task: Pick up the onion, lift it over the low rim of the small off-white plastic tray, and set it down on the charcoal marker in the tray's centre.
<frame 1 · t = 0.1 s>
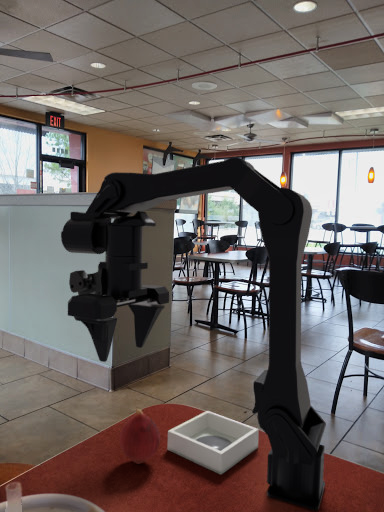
hand: (122, 353, 67), 14 cm above the table, fingers open, 9 cm apart
tray: (213, 448, 66), on the table
onion: (139, 464, 62), on the table
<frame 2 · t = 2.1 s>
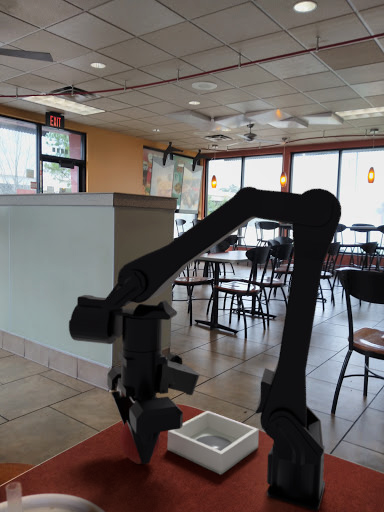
hand: (139, 452, 61), 2 cm above the table, fingers closed on onion, 6 cm apart
onion: (139, 464, 62), on the table, touching gripper
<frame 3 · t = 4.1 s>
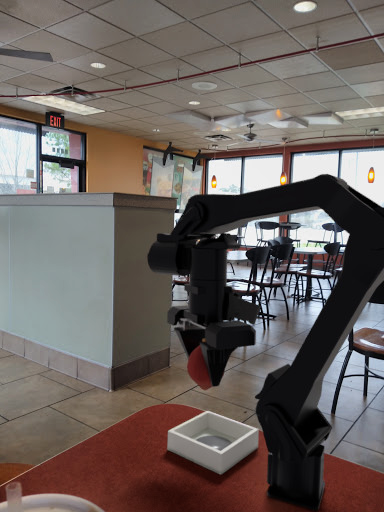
hand: (206, 379, 65), 11 cm above the table, fingers closed on onion, 6 cm apart
onion: (205, 391, 65), point 10 cm above the table, touching gripper
when the fingers open (4 cm above the table, at t = 6.1 s): onion drops 2 cm, resting on tray.
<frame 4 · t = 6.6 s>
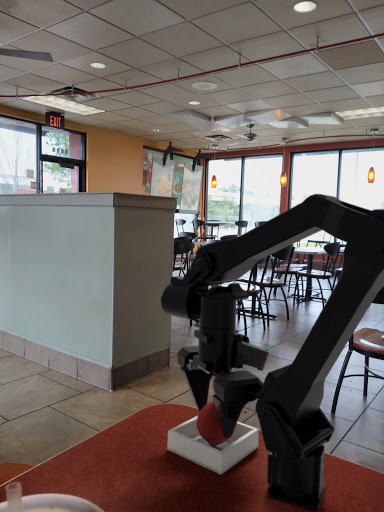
hand: (214, 423, 66), 4 cm above the table, fingers open, 9 cm apart
onion: (213, 446, 66), resting on tray
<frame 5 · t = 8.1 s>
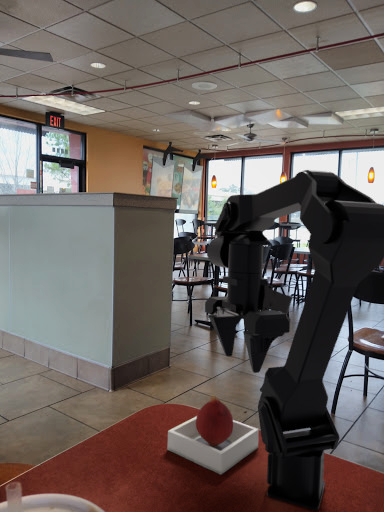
hand: (241, 363, 71), 12 cm above the table, fingers open, 9 cm apart
nothing on the table moved.
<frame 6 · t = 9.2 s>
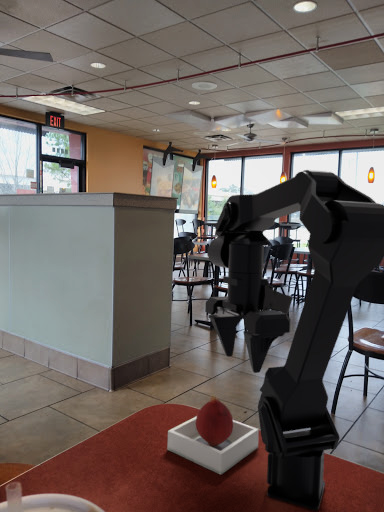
hand: (242, 363, 71), 12 cm above the table, fingers open, 9 cm apart
nothing on the table moved.
at the end: onion 0.1 cm off-centre on the tray, point 0.3 cm above the tray's base; the gripper is holding nothing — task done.
